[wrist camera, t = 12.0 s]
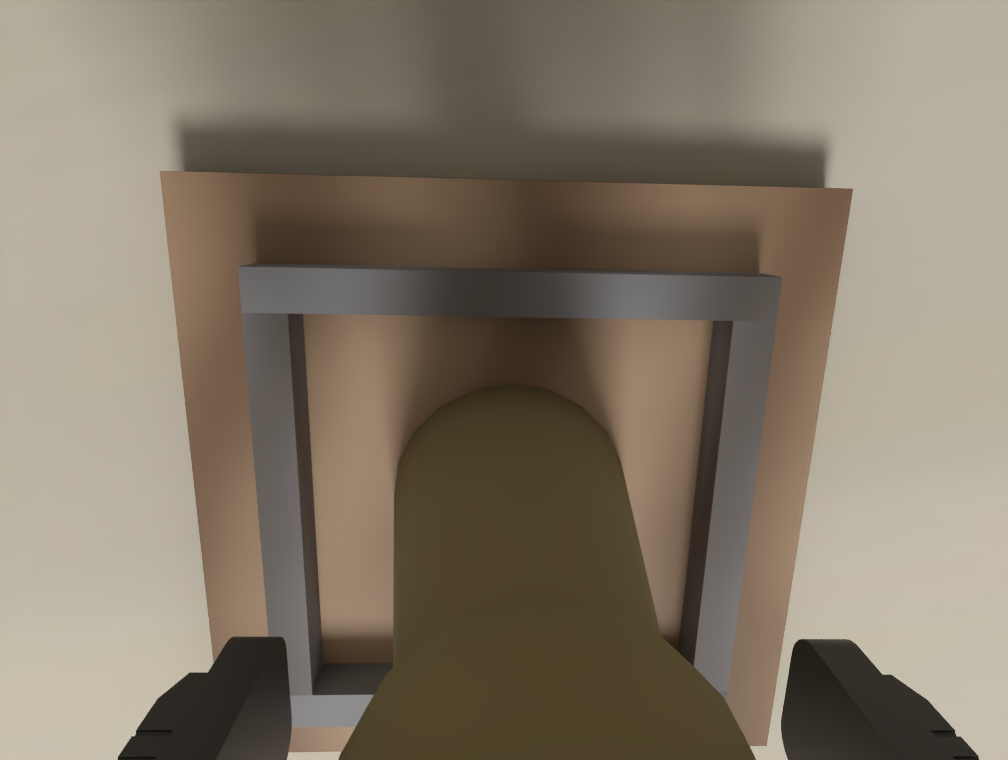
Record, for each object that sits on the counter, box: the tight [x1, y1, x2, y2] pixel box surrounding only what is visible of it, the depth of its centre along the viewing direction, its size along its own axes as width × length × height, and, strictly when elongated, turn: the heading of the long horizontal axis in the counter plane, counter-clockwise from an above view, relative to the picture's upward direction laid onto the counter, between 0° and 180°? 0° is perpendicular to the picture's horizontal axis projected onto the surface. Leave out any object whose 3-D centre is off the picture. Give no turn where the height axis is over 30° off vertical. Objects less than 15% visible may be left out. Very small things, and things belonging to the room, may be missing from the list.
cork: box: [339, 384, 756, 760], centre depth 11 cm, size 6×6×11 cm
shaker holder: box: [160, 171, 853, 752], centre depth 16 cm, size 16×16×2 cm
